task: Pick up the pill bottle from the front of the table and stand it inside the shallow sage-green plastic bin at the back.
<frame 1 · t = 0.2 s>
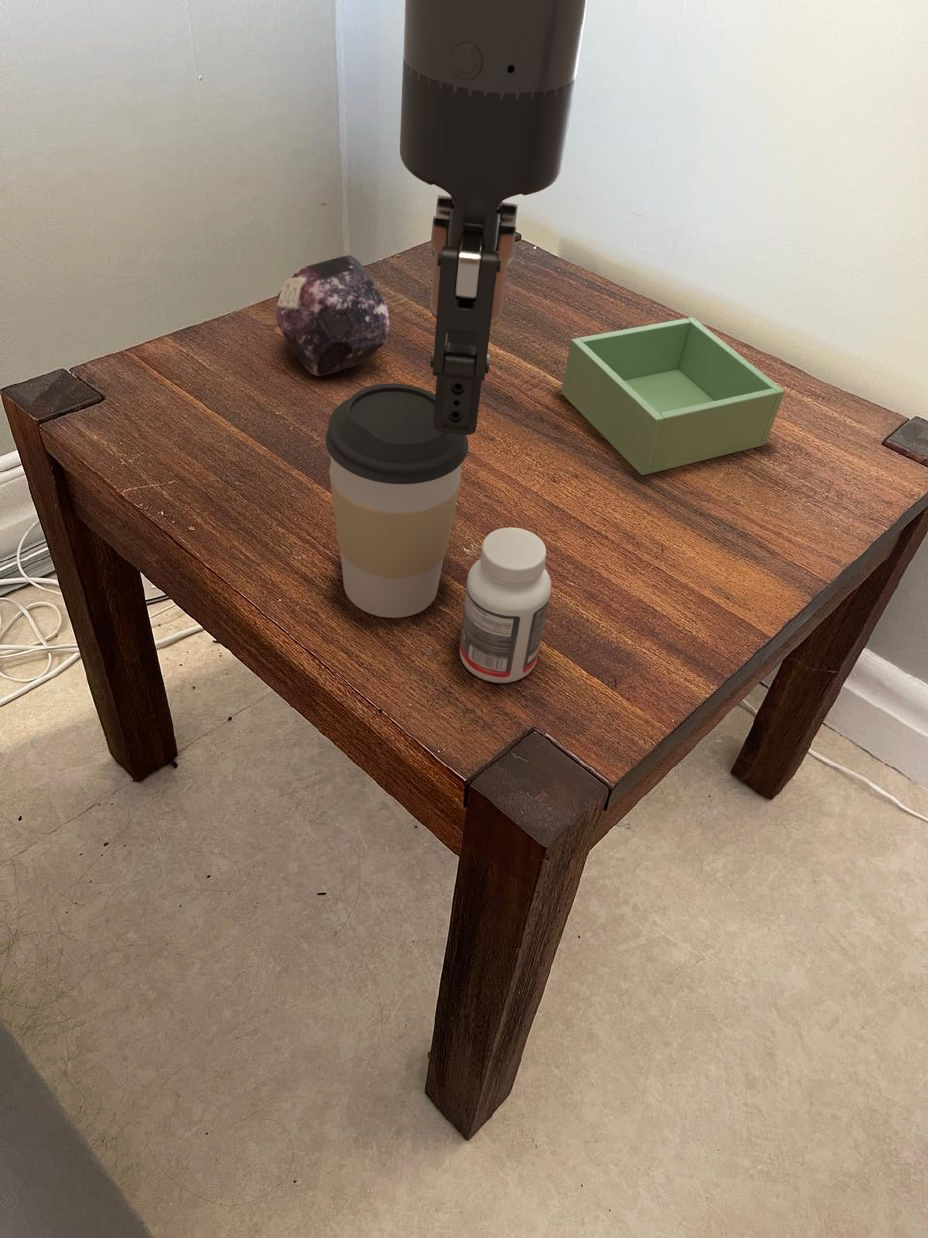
hand: (459, 385, 53), 20 cm above the table, tool pointing down, fingers open, 8 cm apart
mineral specimen: (332, 361, 92), on the table
bin: (661, 418, 89), on the table
pill bottle: (497, 658, 66), on the table
coffee cup: (390, 586, 71), on the table
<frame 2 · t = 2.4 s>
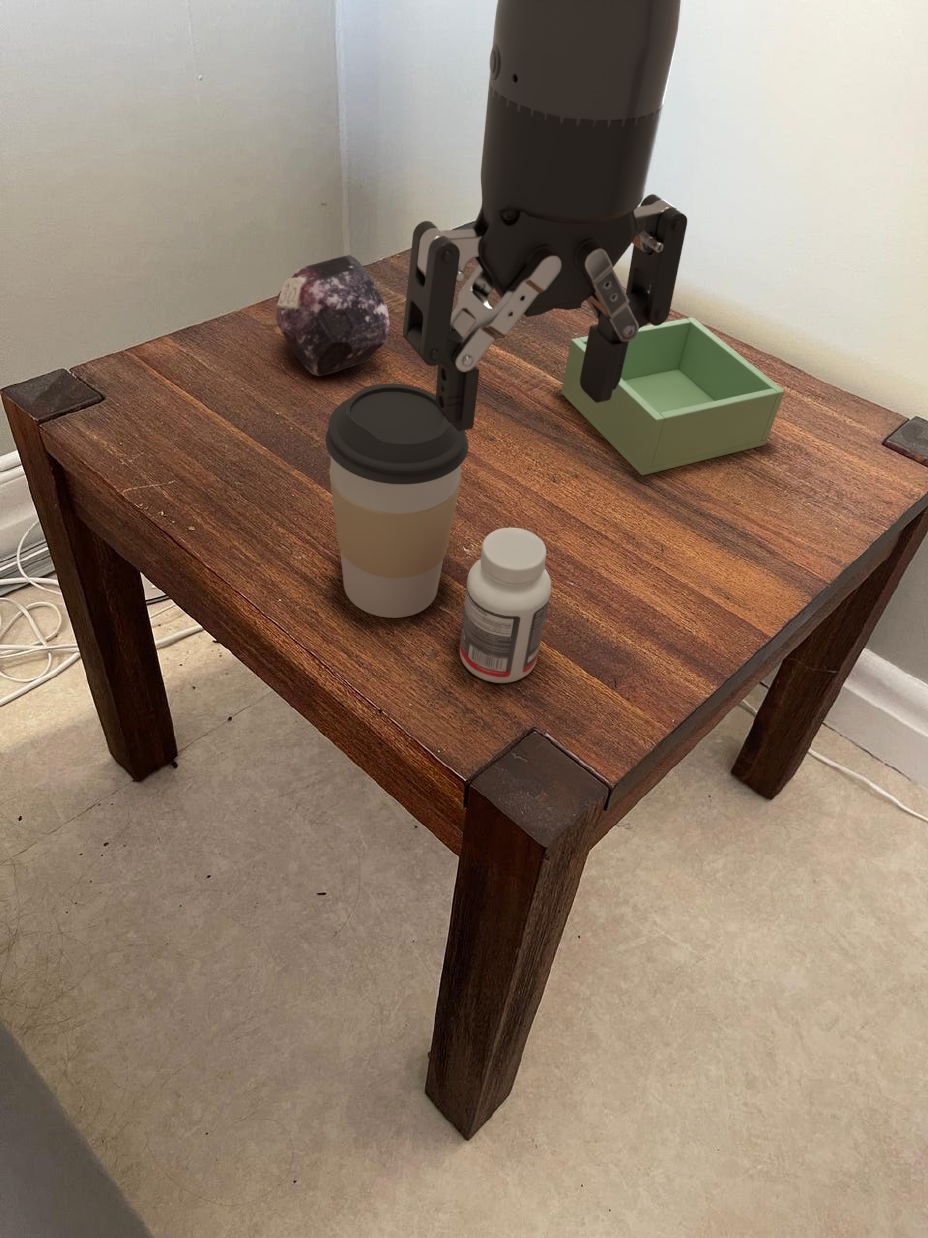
hand: (528, 408, 53), 20 cm above the table, tool pointing down, fingers open, 8 cm apart
nothing on the table moved.
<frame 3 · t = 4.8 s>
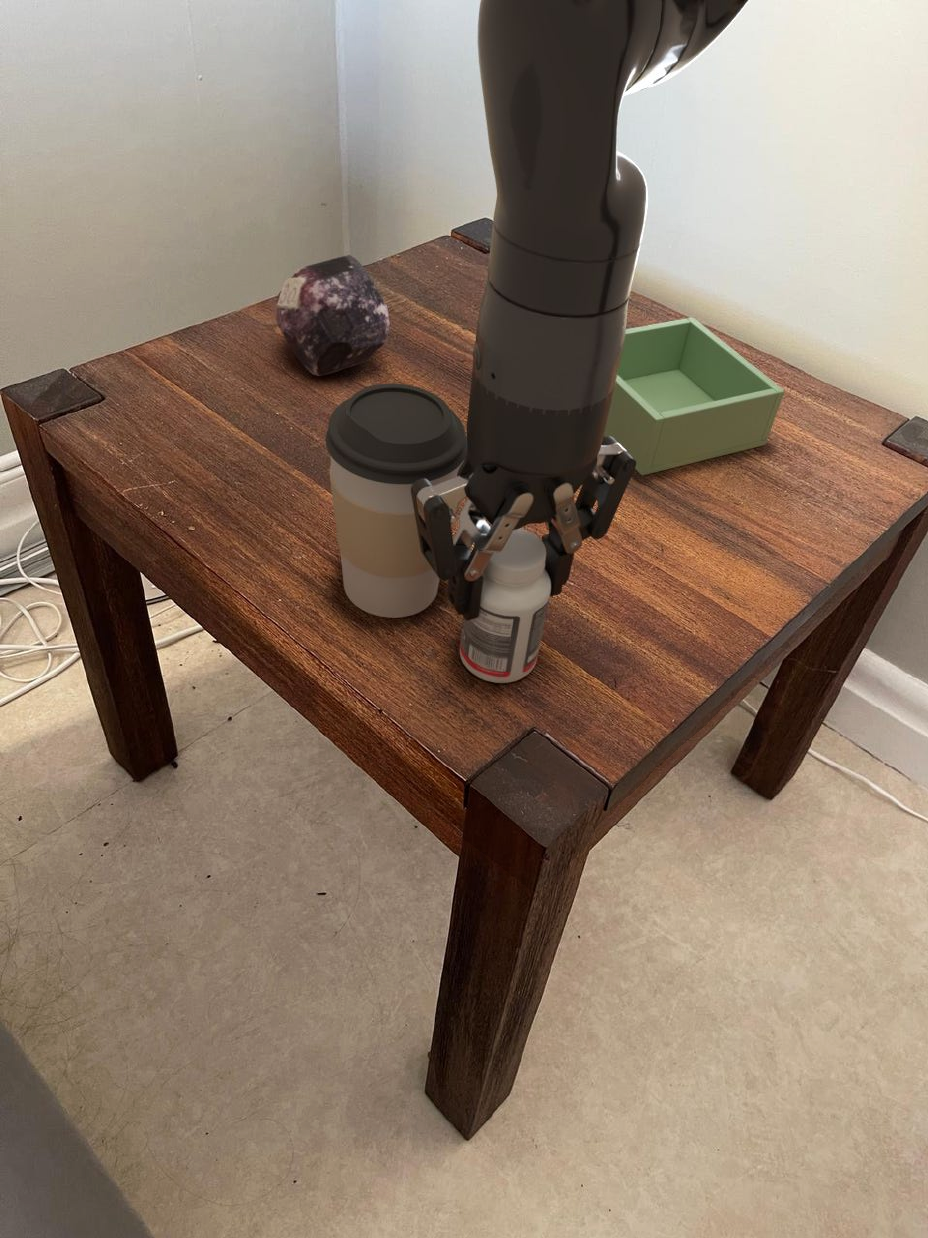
hand: (507, 598, 62), 5 cm above the table, tool pointing down, fingers closed on pill bottle, 5 cm apart
pill bottle: (497, 658, 66), on the table, touching gripper
everything else where it was.
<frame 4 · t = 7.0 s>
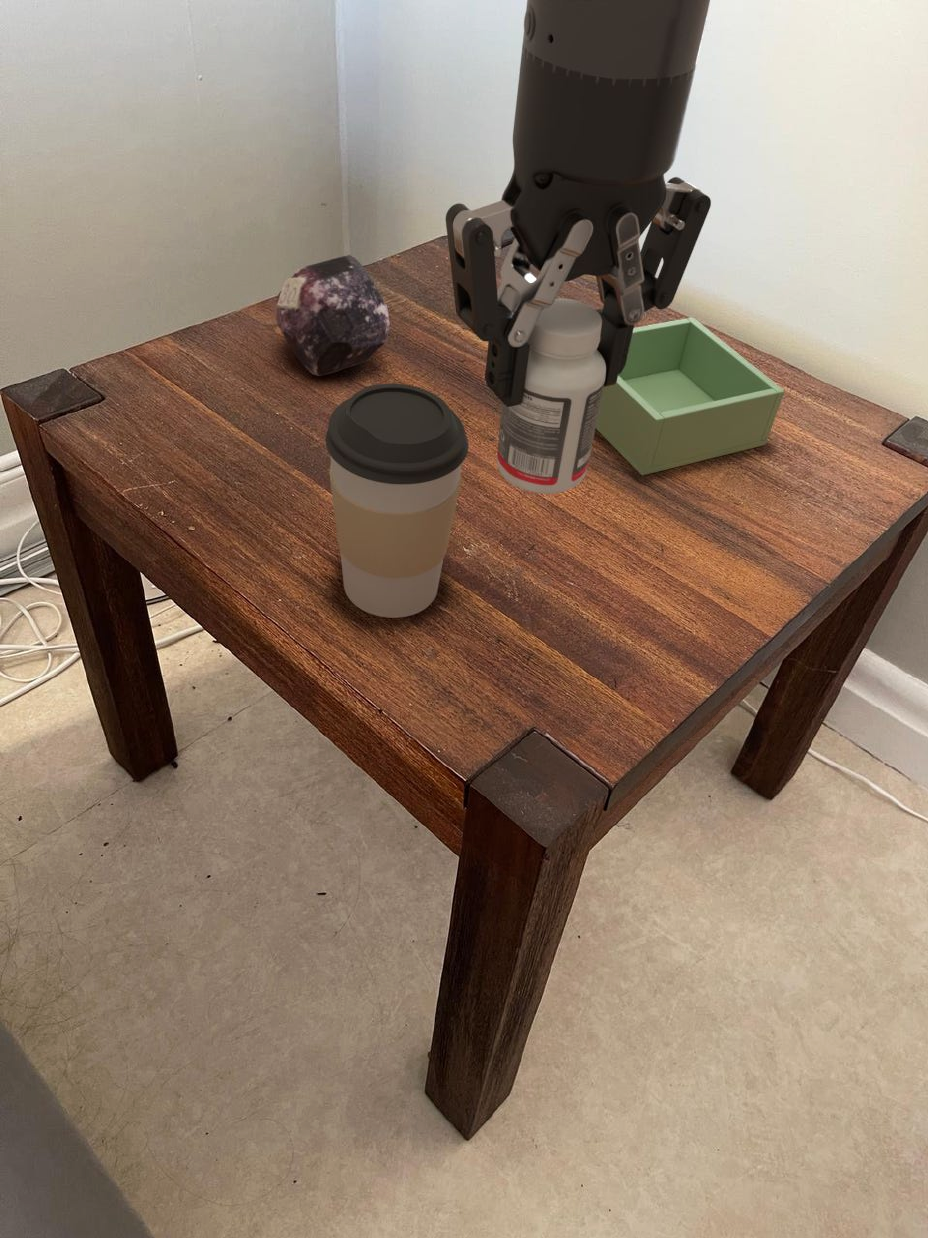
hand: (554, 387, 53), 20 cm above the table, tool pointing down, fingers closed on pill bottle, 5 cm apart
pill bottle: (539, 471, 57), point 14 cm above the table, touching gripper
everything else where it was.
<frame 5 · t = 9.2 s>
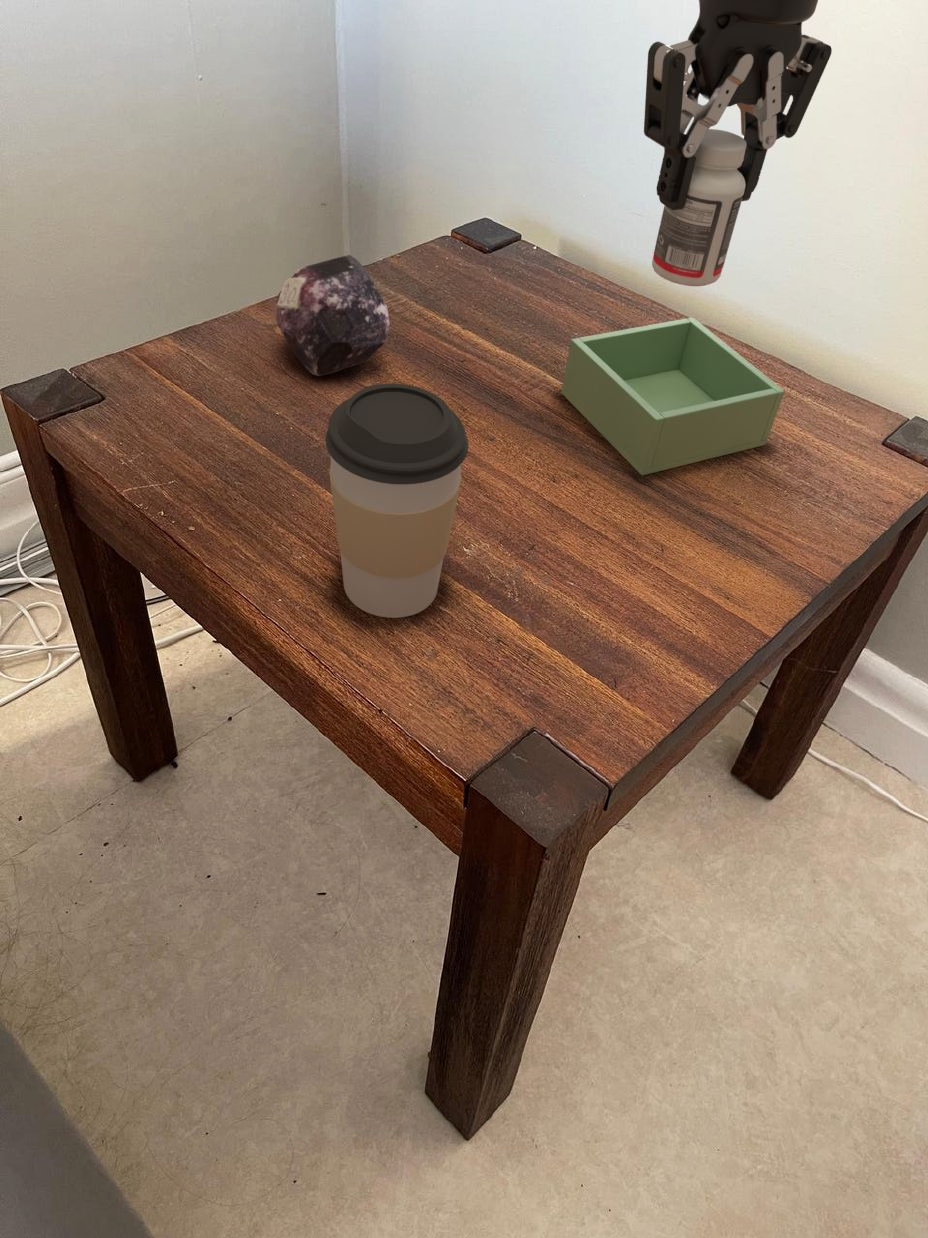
hand: (704, 200, 71), 21 cm above the table, tool pointing down, fingers closed on pill bottle, 5 cm apart
pill bottle: (684, 274, 75), point 16 cm above the table, touching gripper
everything else where it was.
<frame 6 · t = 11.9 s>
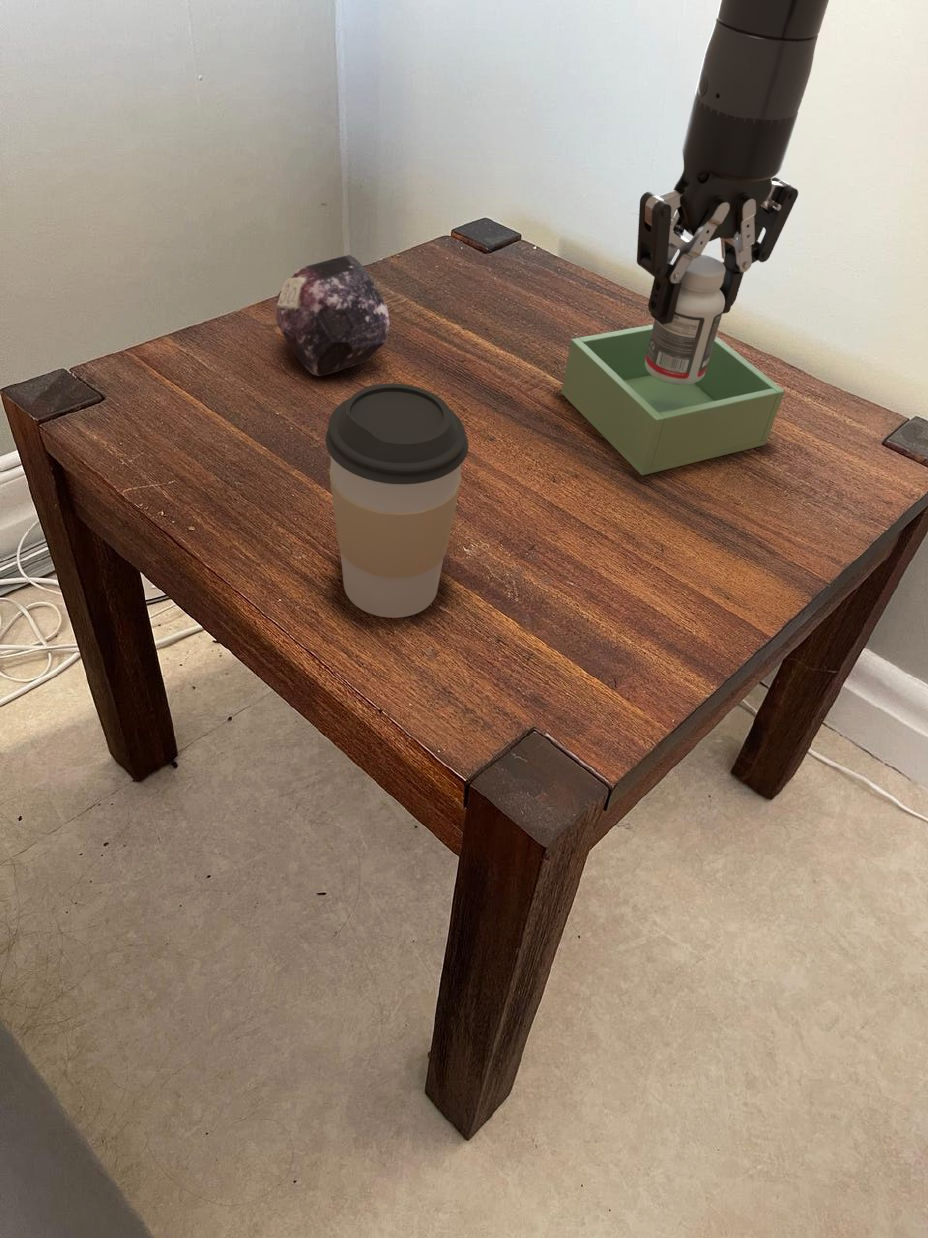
hand: (689, 313, 82), 10 cm above the table, tool pointing down, fingers closed on pill bottle, 5 cm apart
pill bottle: (673, 372, 86), point 5 cm above the table, touching gripper
everything else where it was.
when the fingers open (6 cm above the table, at t = 13.6 s): pill bottle stays where it is, resting on bin.
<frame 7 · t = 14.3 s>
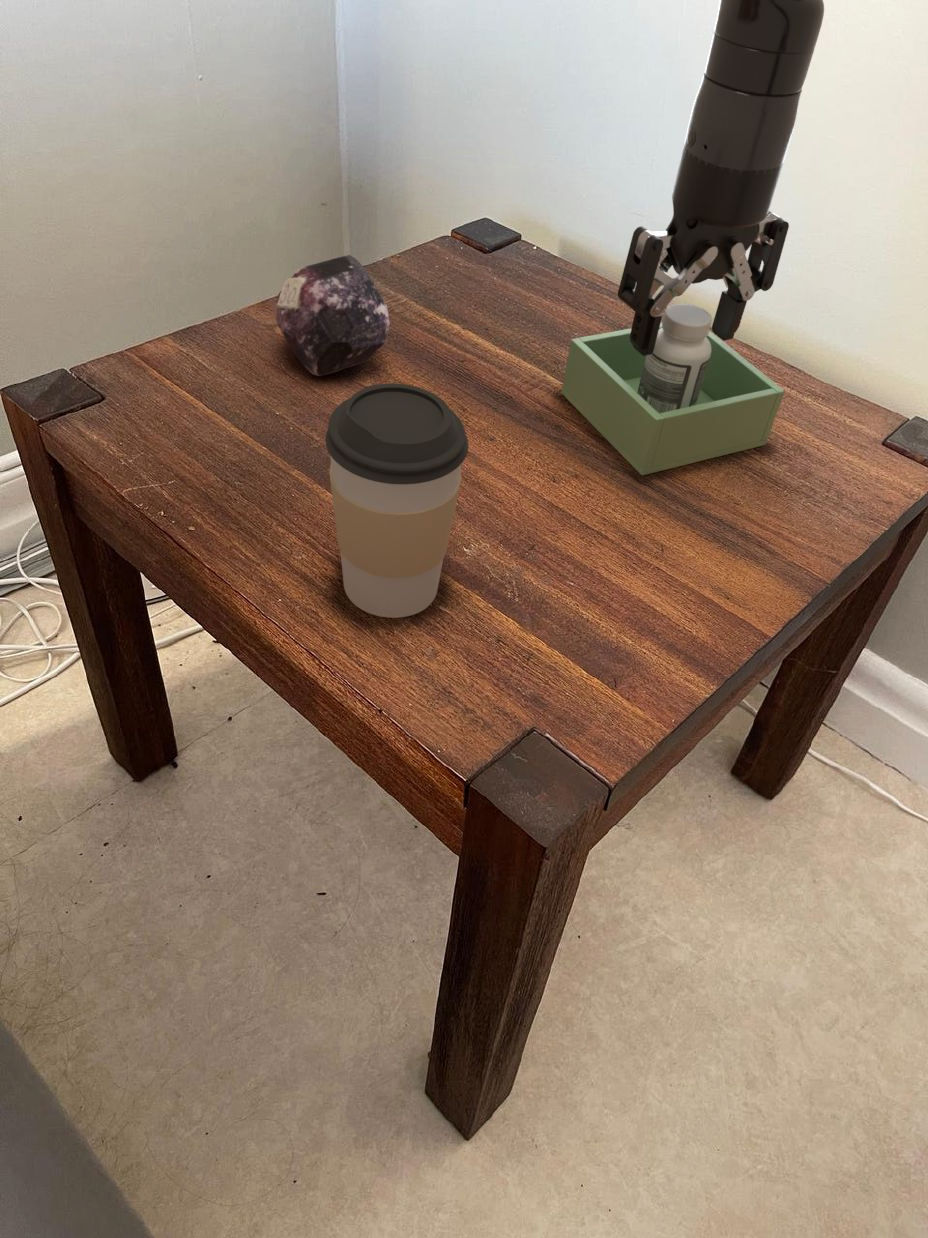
hand: (682, 343, 84), 8 cm above the table, tool pointing down, fingers open, 8 cm apart
pill bottle: (661, 415, 89), resting on bin
everything else where it was.
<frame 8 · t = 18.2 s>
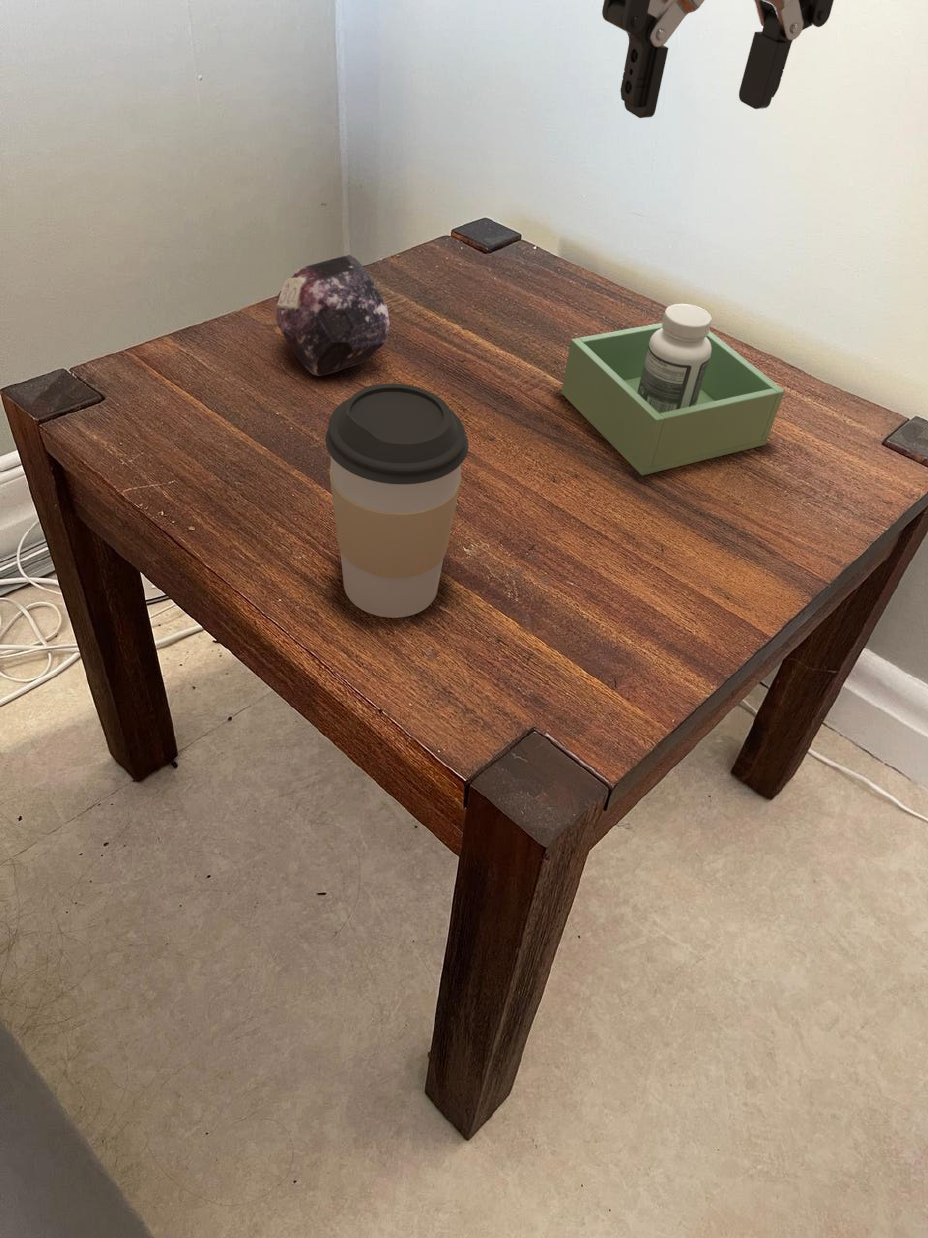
hand: (697, 108, 58), 30 cm above the table, tool pointing down, fingers open, 8 cm apart
nothing on the table moved.
at the end: pill bottle inside the target area in the bin (0.1 cm from its centre), point 0.4 cm above the bin's base; pill bottle tilted 0° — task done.
